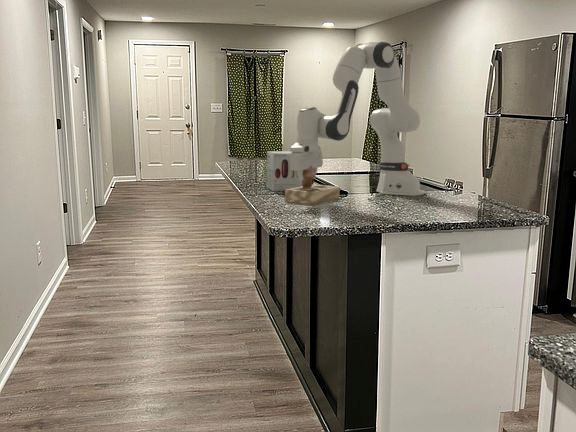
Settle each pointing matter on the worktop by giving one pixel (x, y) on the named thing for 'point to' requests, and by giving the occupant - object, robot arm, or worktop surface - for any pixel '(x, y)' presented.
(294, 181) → the supplement box
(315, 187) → the board
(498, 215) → the worktop surface
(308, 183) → the peg
